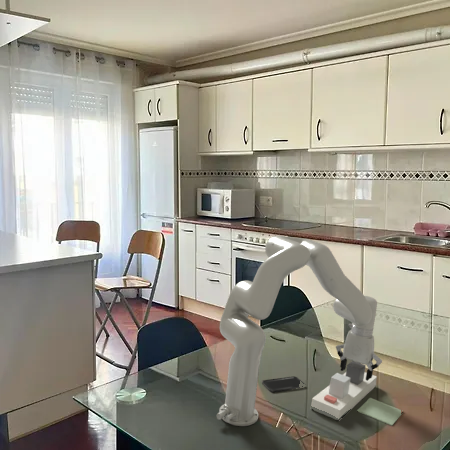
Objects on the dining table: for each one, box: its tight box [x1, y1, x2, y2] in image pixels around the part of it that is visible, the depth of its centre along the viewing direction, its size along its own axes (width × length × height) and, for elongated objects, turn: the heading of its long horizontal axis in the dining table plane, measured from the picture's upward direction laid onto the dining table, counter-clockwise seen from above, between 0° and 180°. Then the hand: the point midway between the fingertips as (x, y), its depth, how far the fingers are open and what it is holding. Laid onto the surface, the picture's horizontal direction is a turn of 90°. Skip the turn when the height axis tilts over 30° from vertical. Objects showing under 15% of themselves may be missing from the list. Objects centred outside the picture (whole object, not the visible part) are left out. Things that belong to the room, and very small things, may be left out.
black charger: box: [345, 360, 367, 385], centre depth 184 cm, size 5×5×8 cm
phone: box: [261, 376, 305, 394], centre depth 184 cm, size 8×1×15 cm
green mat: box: [356, 397, 402, 426], centre depth 172 cm, size 12×12×1 cm
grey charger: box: [329, 372, 350, 399], centre depth 173 cm, size 5×5×8 cm
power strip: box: [310, 371, 378, 419], centre depth 179 cm, size 34×10×5 cm, turn 144°
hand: (355, 374), depth 184 cm, fingers open, 9 cm apart
